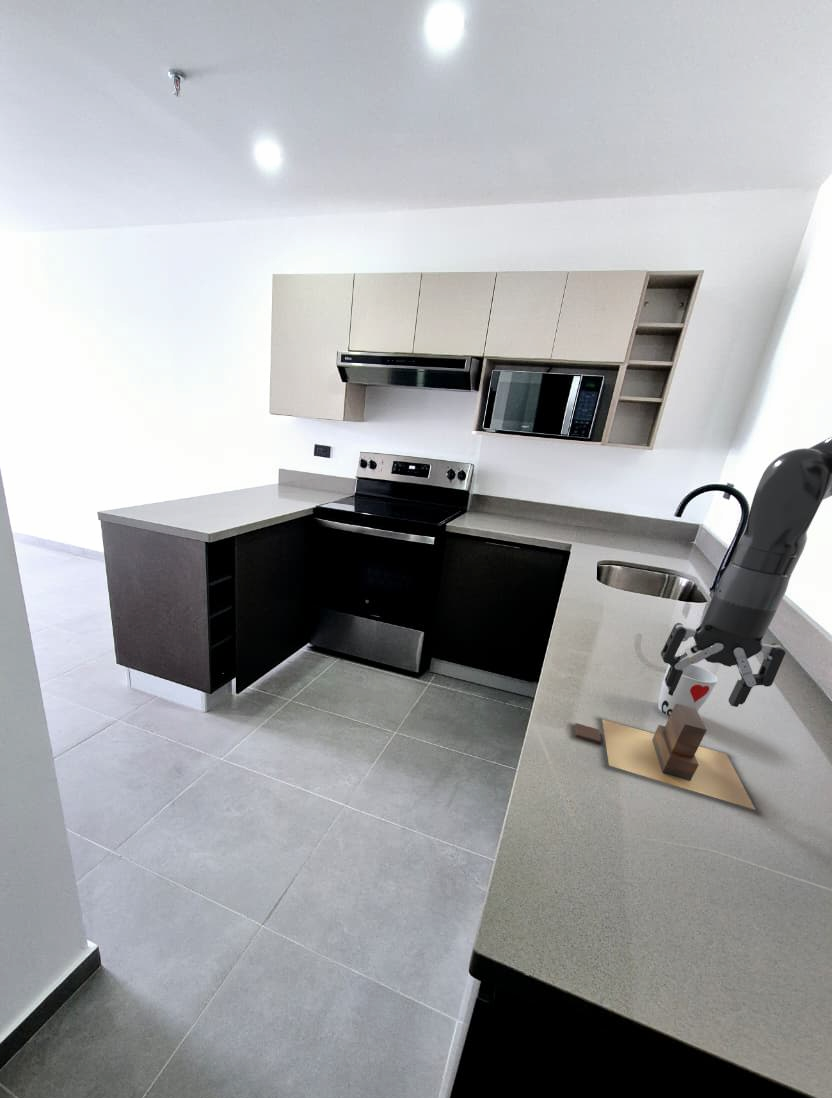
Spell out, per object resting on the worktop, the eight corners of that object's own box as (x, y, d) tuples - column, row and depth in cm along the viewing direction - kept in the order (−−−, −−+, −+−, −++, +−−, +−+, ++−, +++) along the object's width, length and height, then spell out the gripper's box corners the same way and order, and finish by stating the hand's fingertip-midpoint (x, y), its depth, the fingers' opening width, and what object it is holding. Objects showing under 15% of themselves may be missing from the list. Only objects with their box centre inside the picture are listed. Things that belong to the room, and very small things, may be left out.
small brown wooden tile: (596, 736, 88) (599, 729, 87) (598, 748, 84) (601, 741, 84) (572, 729, 89) (575, 722, 88) (573, 741, 86) (576, 734, 85)
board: (723, 758, 86) (726, 753, 86) (752, 814, 74) (755, 809, 73) (600, 723, 92) (602, 719, 92) (607, 770, 79) (609, 765, 79)
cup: (647, 716, 97) (667, 670, 93) (651, 700, 103) (670, 657, 99) (695, 733, 93) (718, 687, 89) (696, 716, 99) (718, 672, 95)
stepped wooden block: (677, 746, 86) (697, 705, 83) (690, 781, 78) (713, 736, 74) (651, 739, 87) (670, 698, 84) (662, 772, 79) (683, 728, 75)
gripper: (695, 594, 70) (654, 694, 77) (817, 618, 66) (762, 721, 72) (684, 581, 76) (647, 674, 83) (795, 602, 72) (746, 698, 79)
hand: (701, 696), depth 78 cm, fingers open, 8 cm apart
